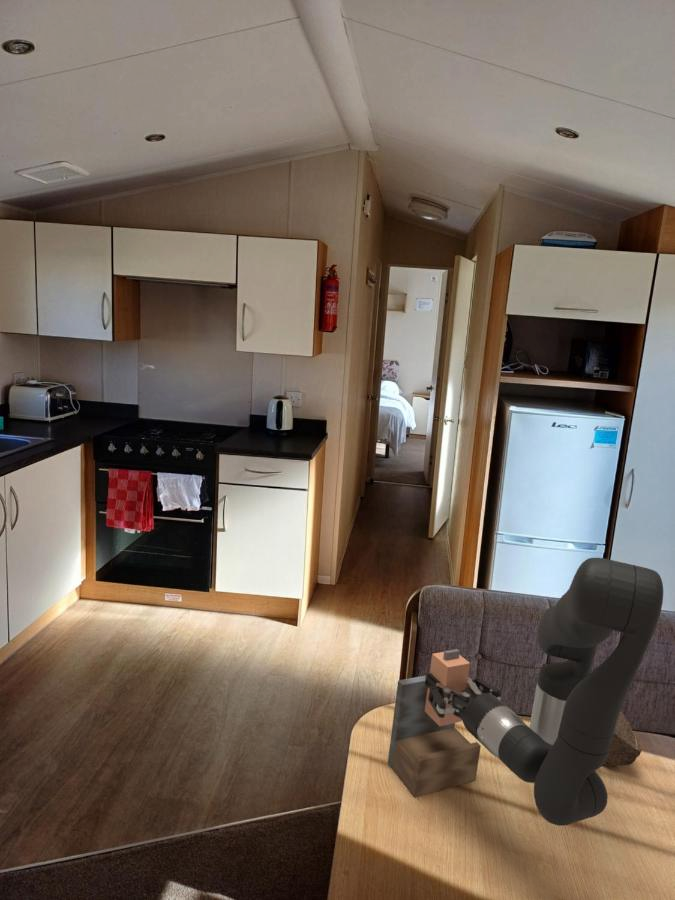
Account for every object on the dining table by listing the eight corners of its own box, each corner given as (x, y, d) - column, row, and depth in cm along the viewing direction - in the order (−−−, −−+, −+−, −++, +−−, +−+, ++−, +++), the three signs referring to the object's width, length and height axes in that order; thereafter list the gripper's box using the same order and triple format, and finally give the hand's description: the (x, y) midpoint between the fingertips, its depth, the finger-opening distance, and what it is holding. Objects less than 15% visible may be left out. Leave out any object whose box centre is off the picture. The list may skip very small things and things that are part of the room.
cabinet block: (446, 706, 127) (455, 642, 124) (461, 721, 122) (471, 655, 120) (424, 711, 125) (433, 646, 122) (439, 726, 120) (448, 659, 118)
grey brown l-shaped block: (446, 748, 135) (457, 669, 131) (475, 780, 126) (488, 696, 122) (387, 763, 128) (398, 680, 125) (414, 797, 120) (426, 709, 116)
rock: (654, 759, 130) (624, 738, 127) (614, 787, 133) (584, 767, 129) (623, 709, 141) (596, 689, 138) (587, 737, 144) (559, 717, 140)
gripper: (532, 700, 112) (471, 651, 127) (465, 715, 106) (409, 662, 121) (526, 738, 114) (466, 686, 128) (459, 756, 107) (405, 699, 122)
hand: (439, 675), depth 124 cm, fingers closed on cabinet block, 5 cm apart
